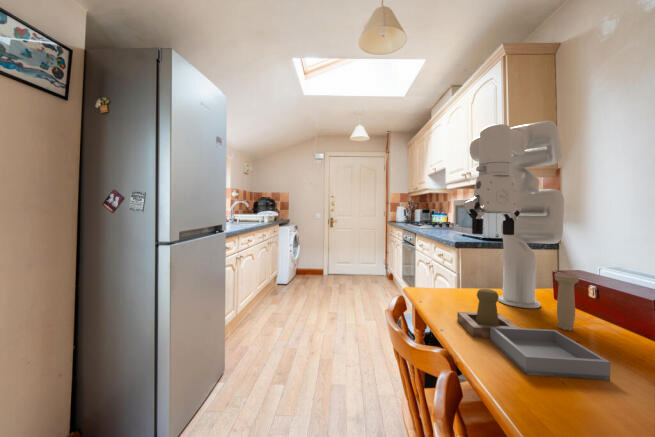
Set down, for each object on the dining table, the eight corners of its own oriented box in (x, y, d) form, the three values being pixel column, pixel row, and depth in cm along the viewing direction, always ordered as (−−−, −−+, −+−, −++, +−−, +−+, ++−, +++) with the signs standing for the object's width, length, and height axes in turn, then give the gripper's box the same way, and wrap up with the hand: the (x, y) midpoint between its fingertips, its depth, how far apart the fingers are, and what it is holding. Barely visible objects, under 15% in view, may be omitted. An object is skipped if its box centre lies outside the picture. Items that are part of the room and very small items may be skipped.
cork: (503, 334, 73) (504, 293, 73) (478, 332, 75) (479, 291, 74) (494, 325, 79) (495, 287, 79) (471, 324, 80) (472, 286, 80)
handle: (558, 331, 76) (559, 276, 75) (551, 323, 81) (552, 272, 81) (581, 335, 73) (582, 278, 73) (572, 326, 79) (573, 274, 79)
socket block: (457, 320, 83) (457, 311, 83) (499, 322, 82) (499, 313, 82) (473, 337, 72) (473, 327, 72) (522, 339, 70) (522, 329, 70)
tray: (490, 340, 70) (490, 326, 70) (555, 344, 68) (555, 329, 68) (525, 374, 55) (526, 356, 55) (610, 380, 53) (610, 362, 53)
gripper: (476, 167, 70) (474, 234, 70) (533, 171, 74) (532, 236, 73) (457, 172, 78) (455, 233, 78) (509, 176, 81) (508, 234, 81)
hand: (492, 234), depth 75 cm, fingers open, 9 cm apart
